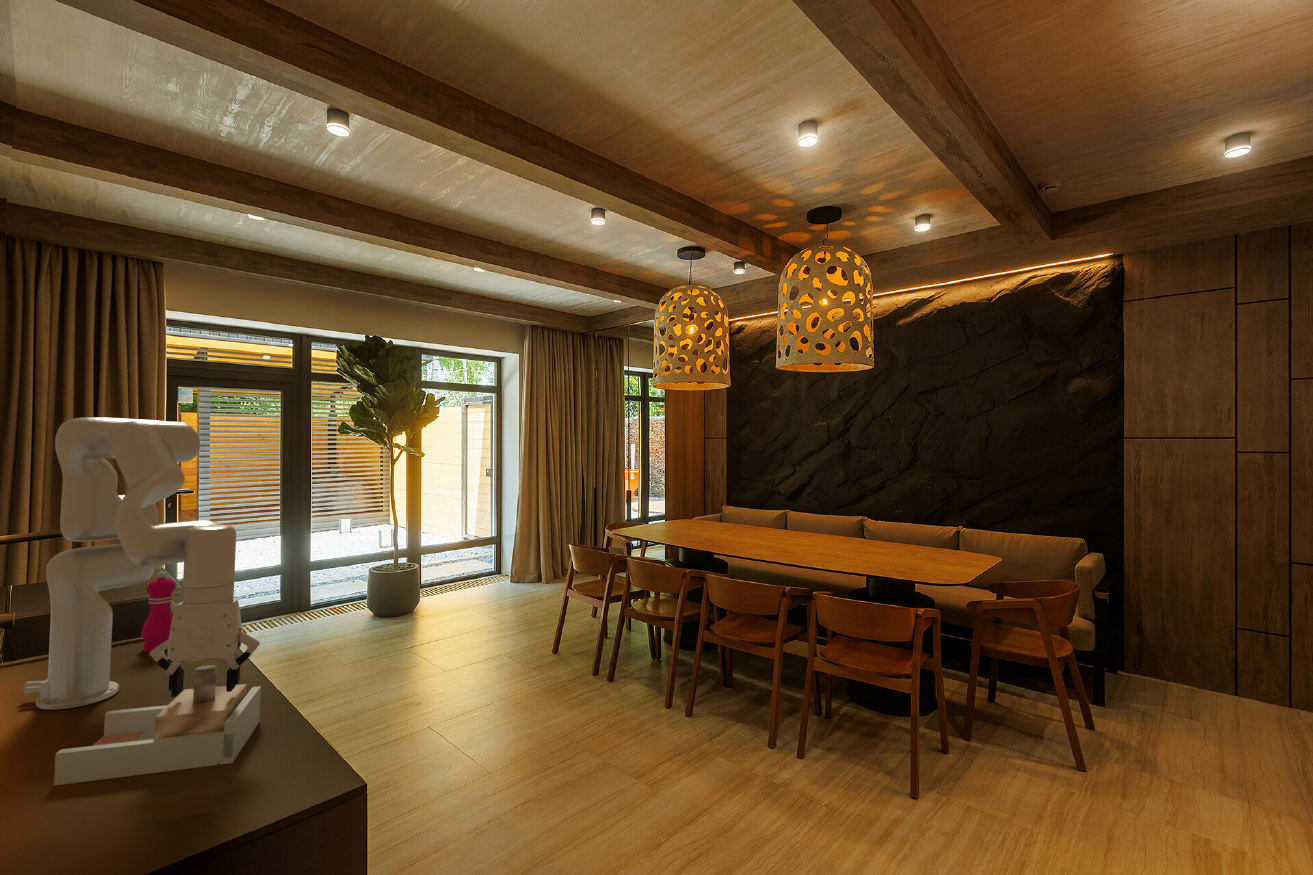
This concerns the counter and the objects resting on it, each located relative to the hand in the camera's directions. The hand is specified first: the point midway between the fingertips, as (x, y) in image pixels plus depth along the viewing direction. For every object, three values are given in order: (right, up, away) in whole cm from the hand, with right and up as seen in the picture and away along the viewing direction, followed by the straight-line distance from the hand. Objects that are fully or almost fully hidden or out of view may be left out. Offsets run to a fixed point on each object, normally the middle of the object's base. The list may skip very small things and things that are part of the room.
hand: (204, 690), depth 108 cm
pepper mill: (-49, -10, +49) cm, 70 cm away
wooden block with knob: (0, -8, 0) cm, 8 cm away
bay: (-5, -10, -2) cm, 11 cm away
